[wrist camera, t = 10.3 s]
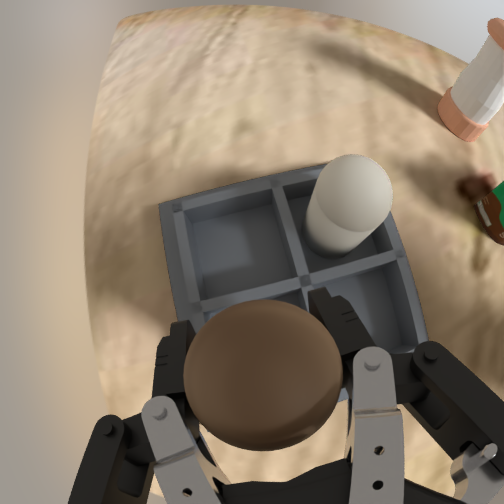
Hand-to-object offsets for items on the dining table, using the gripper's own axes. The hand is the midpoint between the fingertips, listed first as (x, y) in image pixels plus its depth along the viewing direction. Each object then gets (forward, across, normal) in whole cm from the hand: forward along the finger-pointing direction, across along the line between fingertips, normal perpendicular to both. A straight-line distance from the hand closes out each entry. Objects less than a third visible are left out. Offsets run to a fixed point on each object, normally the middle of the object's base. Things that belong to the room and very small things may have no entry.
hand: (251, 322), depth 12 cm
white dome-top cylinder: (+12, -8, +3) cm, 14 cm away
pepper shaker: (+20, -33, -4) cm, 39 cm away
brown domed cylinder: (+2, 0, +4) cm, 5 cm away
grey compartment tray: (+10, -4, +7) cm, 12 cm away
